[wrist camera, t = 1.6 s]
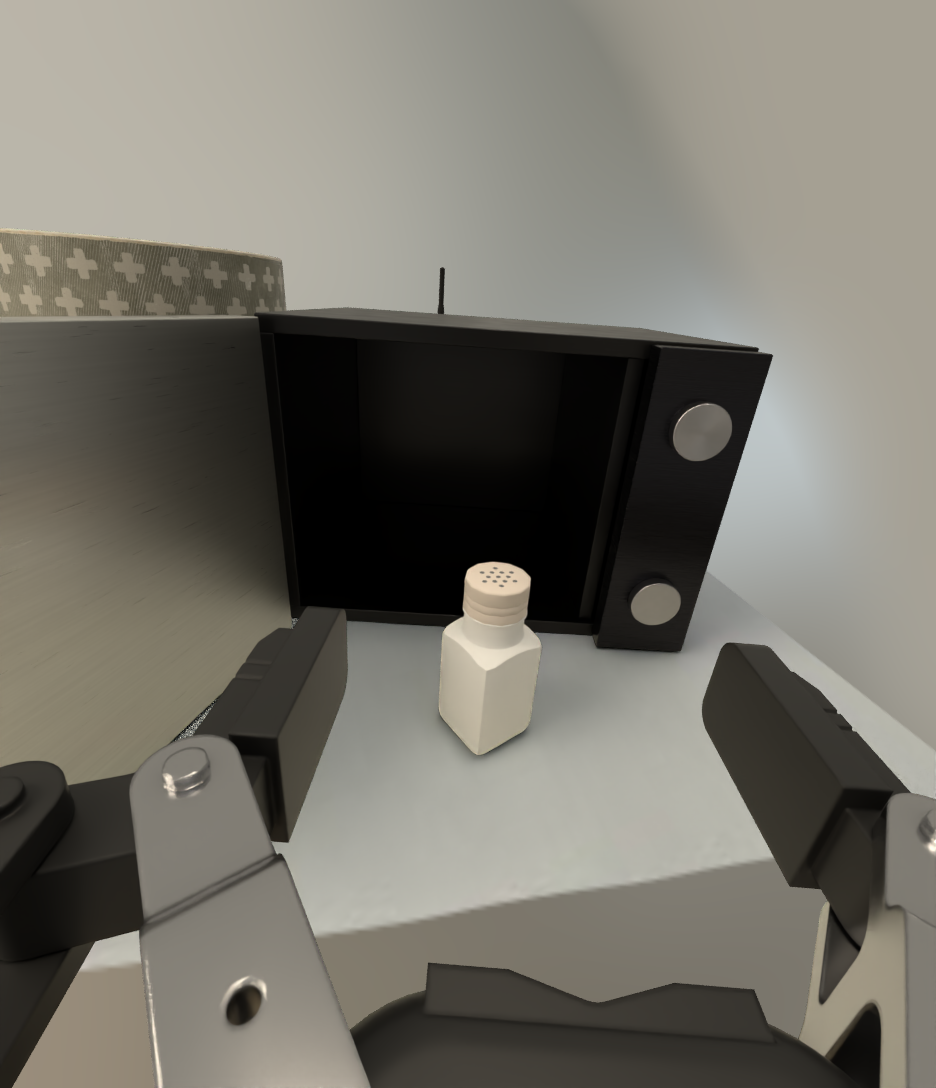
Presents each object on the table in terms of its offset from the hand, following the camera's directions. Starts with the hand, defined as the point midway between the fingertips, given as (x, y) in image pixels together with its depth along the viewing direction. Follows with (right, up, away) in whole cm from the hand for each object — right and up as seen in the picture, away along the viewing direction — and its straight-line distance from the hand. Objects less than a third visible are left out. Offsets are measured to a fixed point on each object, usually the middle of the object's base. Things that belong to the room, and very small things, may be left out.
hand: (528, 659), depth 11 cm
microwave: (0, +1, +34) cm, 34 cm away
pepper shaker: (0, -8, +18) cm, 19 cm away
